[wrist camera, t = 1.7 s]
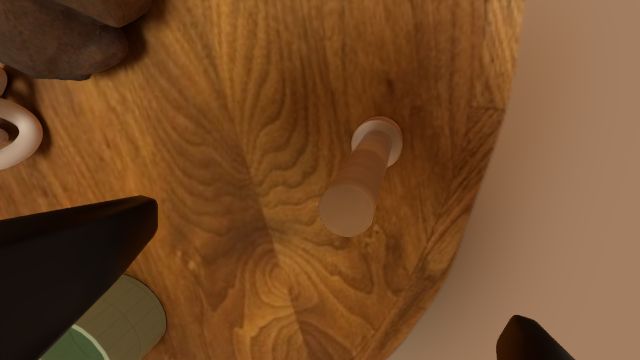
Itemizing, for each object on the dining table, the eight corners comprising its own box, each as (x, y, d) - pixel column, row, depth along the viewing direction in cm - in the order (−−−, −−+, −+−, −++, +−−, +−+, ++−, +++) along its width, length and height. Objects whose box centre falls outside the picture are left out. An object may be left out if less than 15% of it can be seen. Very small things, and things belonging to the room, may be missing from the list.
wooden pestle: (407, 157, 21) (402, 247, 11) (361, 167, 22) (314, 259, 12) (397, 110, 21) (380, 157, 10) (349, 122, 22) (288, 176, 11)
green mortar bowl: (179, 343, 32) (130, 401, 26) (116, 346, 34) (59, 399, 29) (145, 268, 30) (85, 314, 25) (81, 278, 33) (14, 321, 27)
